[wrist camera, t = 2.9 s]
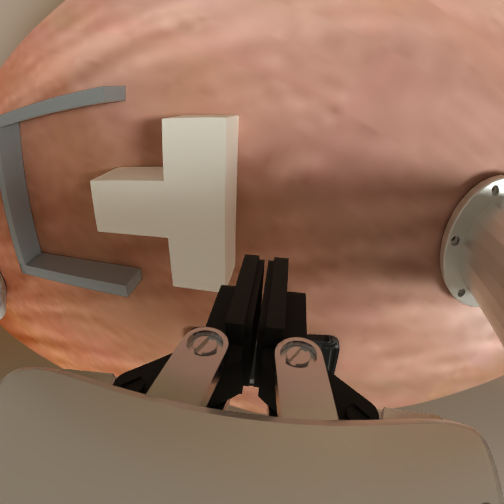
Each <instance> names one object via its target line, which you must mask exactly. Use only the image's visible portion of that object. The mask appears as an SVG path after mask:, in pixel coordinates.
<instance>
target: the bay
mask: <svg viewBox="0 0 504 504" xmlns="http://www.w3.org/2000/svg"><path fill="white" fill-rule="evenodd" d="M117 101H125V86H102V87H97V88H92V89H87V90H83V91H78V92H74V93H70V94H66V95H62V96H58V97H55V98H51V99H48V100H44V101H41V102H37V103H34V104H31V105H28V106H25V107H22V108H19V109H16V110H13V111H10V112H8V113H5V114H2V115H0V190H1V195H2V200H3V205H4V209H5V214H6V218H7V222H8V226H9V230H10V234H11V237H12V241H13V245H14V248H15V251H16V255H17V258H18V261H19V264H20V267H21V270H22V273H25V274H29V275H33V276H36V277H40V278H44V279H48V280H52V281H56V282H61V283H65V284H69V285H73V286H78V287H82V288H87V289H91V290H96V291H100V292H105V293H110V294H115V295H120V296H125V297H128V296H129V295H130V294H131V293H132V291H133V290H134V289H135V287H136V286H137V285H138V284H139V282H140V281H141V280H142V275H141V269H140V268H136V267H130V266H123V265H116V264H110V263H104V262H97V261H91V260H85V259H79V258H73V257H67V256H61V255H55V254H49V253H43V252H41V249H40V245H39V241H38V238H37V234H36V230H35V225H34V221H33V217H32V212H31V207H30V202H29V197H28V191H27V186H26V179H25V173H24V166H23V158H22V149H21V138H20V125H19V122H22V121H25V120H29V119H33V118H36V117H40V116H44V115H48V114H53V113H57V112H61V111H66V110H71V109H76V108H81V107H86V106H92V105H97V104H104V103H110V102H117Z"/></svg>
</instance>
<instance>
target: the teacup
mask: <svg viewBox="0 0 504 504" xmlns="http://www.w3.org/2000/svg"><path fill="white" fill-rule="evenodd" d="M5 312H6V287H5V283H4V280H3V278H2V276H1V274H0V319H1V318H2V317H3V316H4V315H5Z"/></svg>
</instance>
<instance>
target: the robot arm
mask: <svg viewBox="0 0 504 504" xmlns="http://www.w3.org/2000/svg"><path fill="white" fill-rule="evenodd" d="M288 260H289V259H288V258H278V257H275V259H274V261H270V260H269V262H268V269H267V275H266V281H265V287H264V294H263V300H262V289H263V275H264V260H260V259H259V256H257V255H245V257H244V260H243V263H242V267H241V270H240V273H239V277H238V280H237V283H236V286H228V285H221V287H220V289H219V292H218V295H217V297H216V300H215V303H214V305H213V308H212V311H211V314H210V316H209V319H208V322H207V324H206V327H200V328H196V329H193V330H191V331H190V332H188V333H187V334H186V335H185V336H184V337H183V339H182V340H181V342H180V343H179V345H178V346H177V348H176V349H175V351H174V352H173V353H172V354H169V355H167V356H165V357H162V358H160V359H157V360H155V361H152V362H150V363H148V364H145V365H143V366H140V367H138V368H135V369H133V370H130V371H127V372H125V373H123V374H122V375H120V376H119V377H115V376H114V374H112V373H100V372H90V371H80V370H72V369H62V370H57V369H52V368H44V367H27V368H20V369H17V370H14V371H12V372H11V373H9V374H8V375H7V376H5V377H4V378H3V379H2V380H1V381H0V504H504V499H503V493H502V488H501V483H500V479H499V475H498V471H497V467H496V464H495V461H494V458H493V455H492V453H491V450H490V448H489V446H488V444H487V442H486V440H485V439H484V437H483V436H482V435H481V434H480V433H479V432H478V431H477V430H475V429H474V428H472V427H469V426H467V425H464V424H461V423H457V422H453V421H449V420H443V419H442V418H441V417H439V416H437V415H434V414H427V413H419V412H412V411H405V410H398V409H392V408H386V407H384V409H383V410H379V409H376V407H375V406H374V405H373V404H372V403H371V402H369V401H368V400H367V399H365V398H364V397H363V396H361V395H360V394H359V393H357V392H356V391H355V390H353V389H352V388H351V387H350V386H348V385H347V384H346V383H344V382H343V381H342V380H340V379H339V378H338V377H336V376H335V375H334V374H333V373H331V372H330V371H329V370H327V369H326V366H325V362H324V359H323V355H322V352H321V350H320V348H319V347H318V346H317V345H316V343H314V342H312V341H311V340H308V339H307V324H306V294H305V293H297V292H287V282H288ZM440 268H441V274H442V277H443V280H444V282H445V285H446V286H447V288H448V289H449V291H450V293H451V294H452V295H453V297H454V298H455V299H456V300H458V301H459V302H461V303H462V304H464V305H468V306H471V307H480V308H481V309H482V311H483V313H484V314H485V316H486V317H487V319H488V321H489V322H490V324H491V326H492V327H493V329H494V331H495V332H496V334H497V336H498V338H499V339H500V341H501V343H502V345H503V347H504V175H497V176H493V177H490V178H488V179H486V180H483V181H481V182H480V183H479V184H477V185H476V186H475V187H473V188H472V189H471V190H470V191H469V192H468V193H467V194H466V195H465V196H464V197H463V198H462V200H461V201H460V202H459V204H458V205H457V207H456V208H455V210H454V211H453V213H452V215H451V217H450V219H449V222H448V224H447V226H446V229H445V232H444V235H443V238H442V244H441V249H440ZM261 303H262V306H261ZM256 342H257V349H256V362H255V375H254V387H259V393H258V396H259V397H260V398H261V399H262V400H263V401H264V402H265V403H266V404H267V416H263V415H254V414H246V413H238V412H231V411H227V408H228V406H229V402H230V399H231V398H232V397H234V396H236V395H238V394H242V390H243V386H249V383H250V378H251V372H252V366H253V360H254V354H255V348H256Z"/></svg>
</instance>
